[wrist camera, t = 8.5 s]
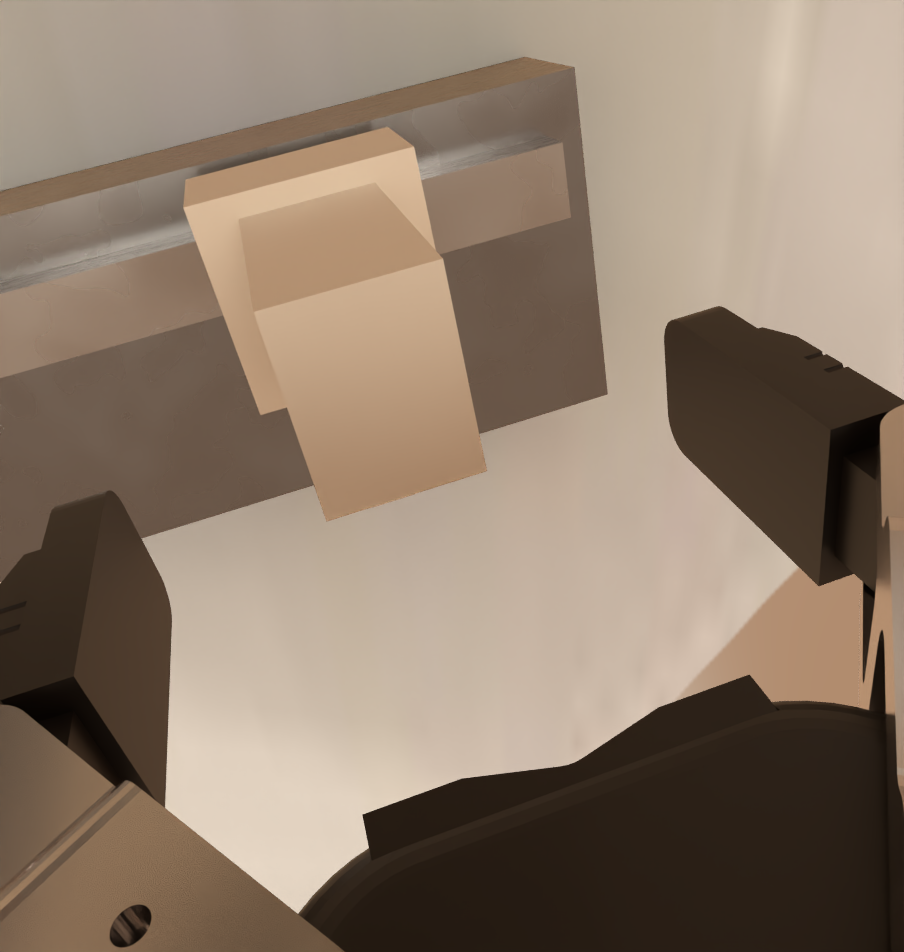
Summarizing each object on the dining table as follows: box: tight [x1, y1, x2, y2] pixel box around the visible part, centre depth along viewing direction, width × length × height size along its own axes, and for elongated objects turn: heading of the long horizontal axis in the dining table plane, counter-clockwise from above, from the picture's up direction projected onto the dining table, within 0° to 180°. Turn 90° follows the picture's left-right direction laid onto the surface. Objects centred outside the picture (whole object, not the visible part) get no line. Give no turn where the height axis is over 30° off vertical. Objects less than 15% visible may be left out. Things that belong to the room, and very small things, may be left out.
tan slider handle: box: [183, 127, 487, 521], centre depth 19 cm, size 8×5×10 cm, turn 13°
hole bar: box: [0, 57, 608, 582], centre depth 22 cm, size 10×28×11 cm, turn 103°
